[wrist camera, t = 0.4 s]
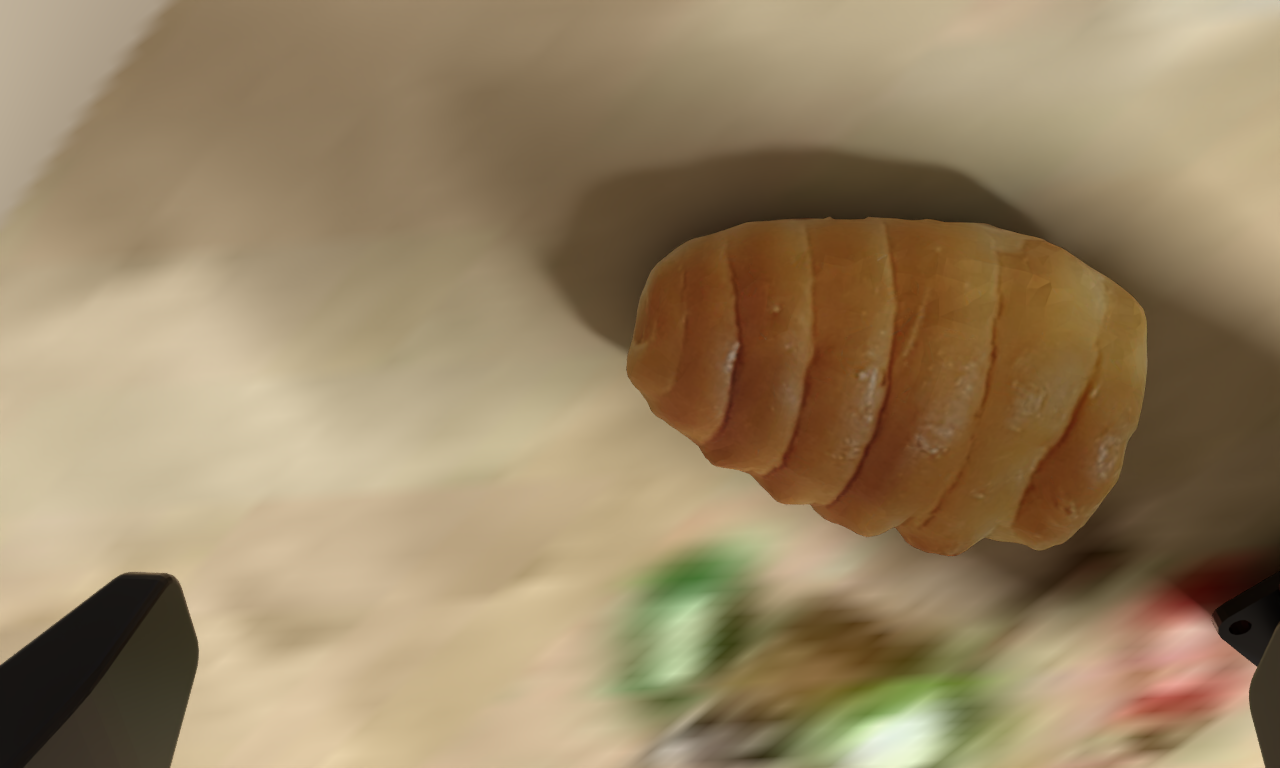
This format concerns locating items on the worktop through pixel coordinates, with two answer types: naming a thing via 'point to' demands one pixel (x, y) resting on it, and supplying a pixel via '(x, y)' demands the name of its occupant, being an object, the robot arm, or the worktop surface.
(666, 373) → the pastry
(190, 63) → the worktop surface
